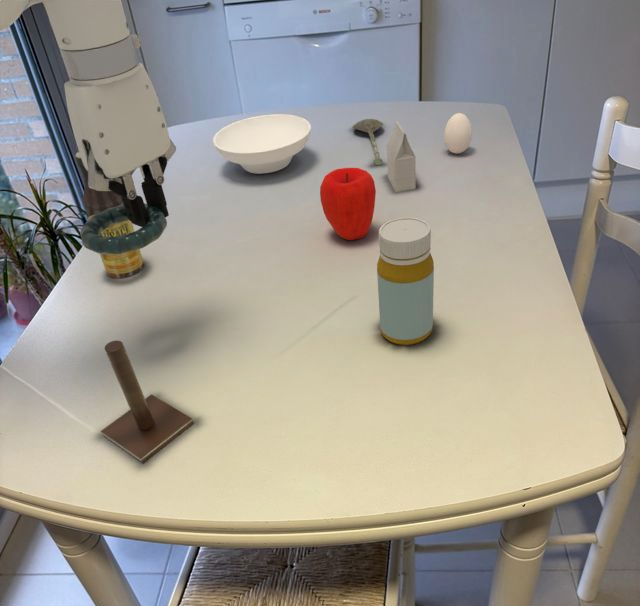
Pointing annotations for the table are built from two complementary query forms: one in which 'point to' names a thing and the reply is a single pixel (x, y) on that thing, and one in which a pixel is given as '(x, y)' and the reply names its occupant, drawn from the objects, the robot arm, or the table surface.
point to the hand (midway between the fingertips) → (150, 218)
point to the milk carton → (400, 161)
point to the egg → (458, 133)
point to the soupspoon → (370, 134)
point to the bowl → (263, 141)
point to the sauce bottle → (111, 229)
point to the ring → (122, 242)
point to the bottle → (405, 280)
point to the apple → (348, 201)
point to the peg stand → (141, 412)
